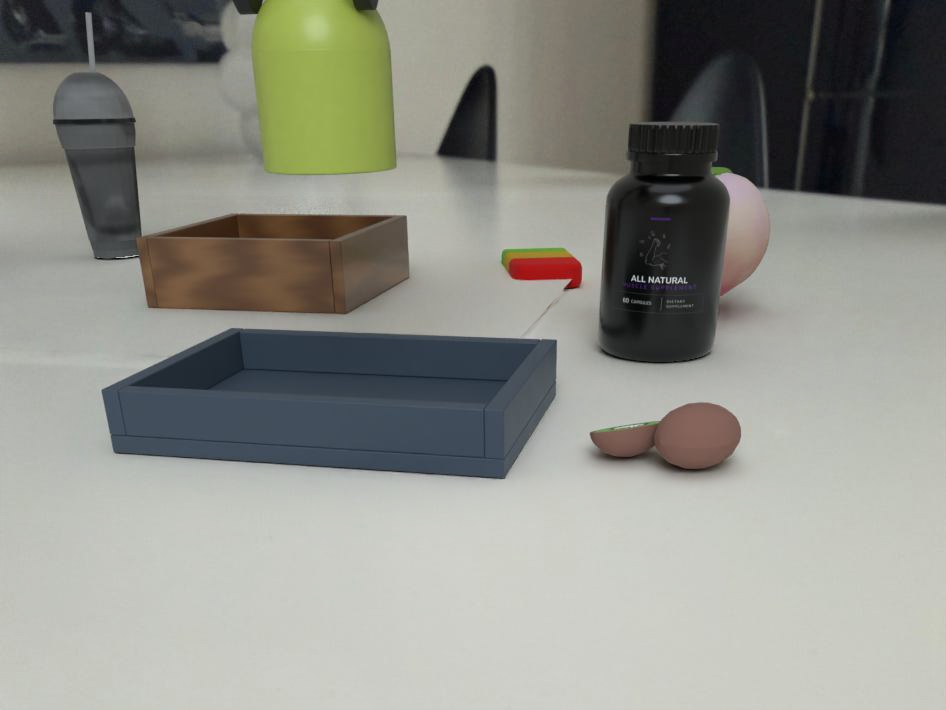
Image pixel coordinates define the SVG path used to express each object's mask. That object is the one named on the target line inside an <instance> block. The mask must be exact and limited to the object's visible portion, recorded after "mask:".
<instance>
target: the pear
mask: <svg viewBox="0 0 946 710" xmlns="http://www.w3.org/2000/svg"><path fill="white" fill-rule="evenodd" d="M250 50H251V51H250V53H251V63H252V72H253V81H254V90H255V100H256V108H257V109H256V110H257V117H258V125H259V127H258V128H259V133H260V134H259V137H260V143H261V144H260V145H261V152H262V163H263V171H264V172H265V173H268V174H272V175H273V174H274V175H284V176H285V175H287V176H334V175H335V176H337V175H357V174H370V173H379V172H380V173H381V172H387V171H392V170H395V169H396V168H397V167H398V166H397V164H398V163H397V145H396V144H397V143H396V129H395V127H396V126H395V107H394V90H393V89H394V88H393V69H392V68H393V67H392V50H391V43H390V38H389V35H388V31H387V28H386V25H385V23H384V21H383V17H382V16H381V14H380V12H379V11H378V9H377V8H376V10H362V11H357V10H356V8H355V6H354V3H353V0H263V3H262V6H261V8H260V10H259V12H258V14H256V17H255V19H254V23H253V27H252V33H251V41H250Z"/></svg>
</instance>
